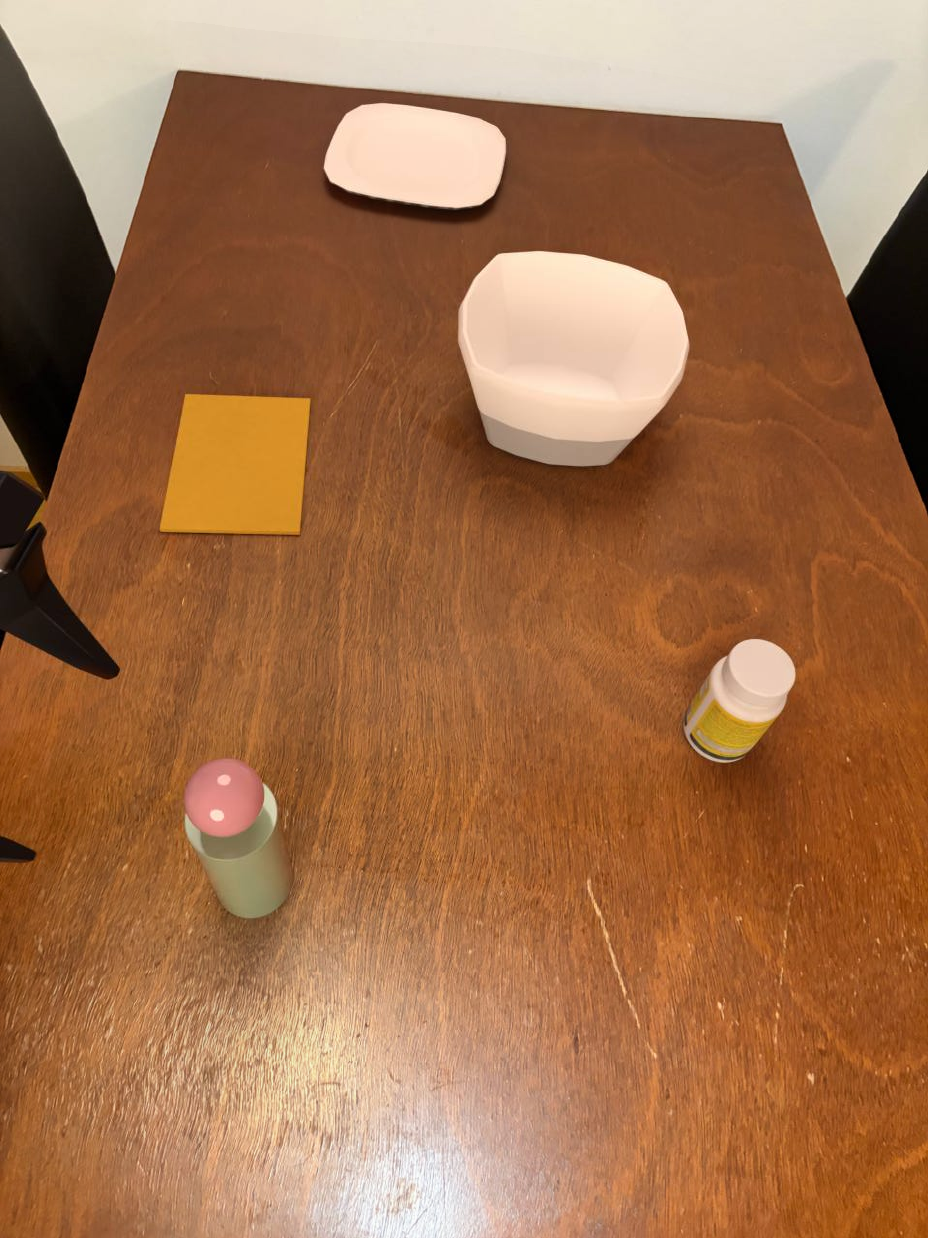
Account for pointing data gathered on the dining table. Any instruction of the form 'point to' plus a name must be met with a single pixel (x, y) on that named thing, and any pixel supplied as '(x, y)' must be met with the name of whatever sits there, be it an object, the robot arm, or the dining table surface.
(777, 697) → the supplement bottle
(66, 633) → the robot arm
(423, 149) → the plate
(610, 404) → the bowl
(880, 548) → the dining table surface
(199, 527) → the cloth
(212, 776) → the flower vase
